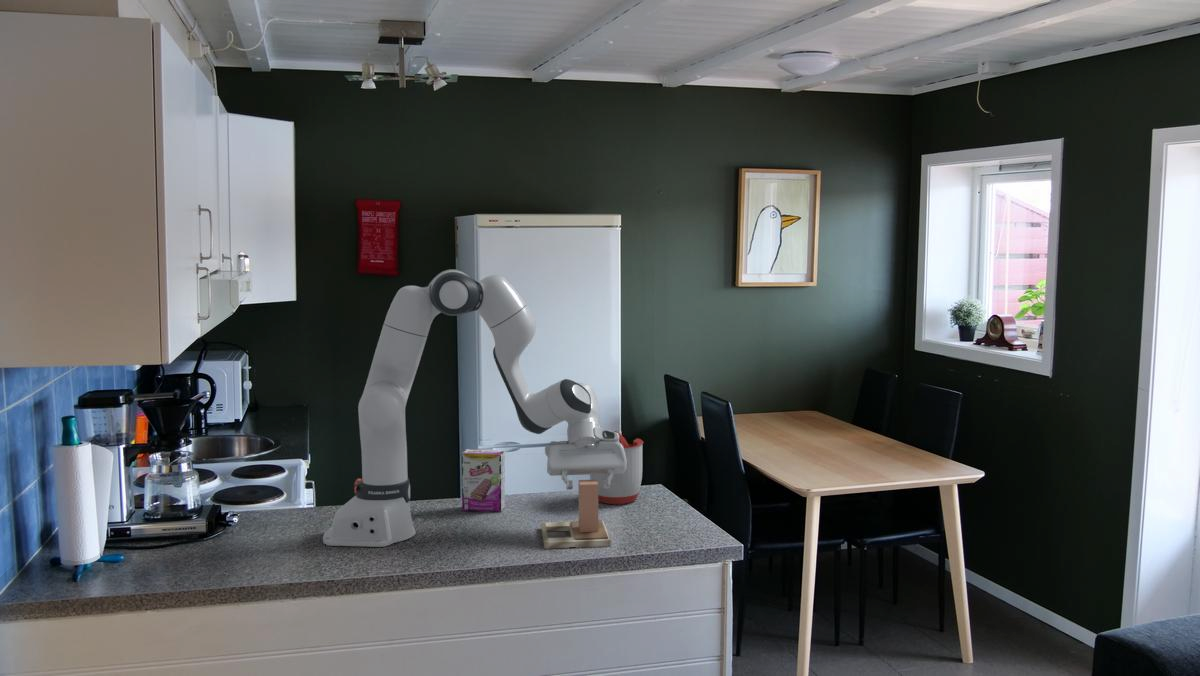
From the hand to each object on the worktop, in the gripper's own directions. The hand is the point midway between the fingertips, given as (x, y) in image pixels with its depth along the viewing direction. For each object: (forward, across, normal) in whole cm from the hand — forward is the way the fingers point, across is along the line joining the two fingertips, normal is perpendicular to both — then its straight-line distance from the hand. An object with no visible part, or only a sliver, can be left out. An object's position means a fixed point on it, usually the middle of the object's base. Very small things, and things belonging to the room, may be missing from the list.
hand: (588, 487), depth 231 cm
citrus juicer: (-15, +12, +33) cm, 38 cm away
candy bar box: (-10, -26, +28) cm, 40 cm away
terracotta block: (+7, 0, +8) cm, 11 cm away
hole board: (+9, -3, +9) cm, 13 cm away
